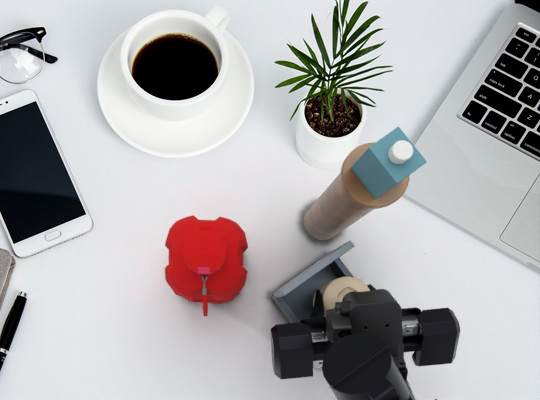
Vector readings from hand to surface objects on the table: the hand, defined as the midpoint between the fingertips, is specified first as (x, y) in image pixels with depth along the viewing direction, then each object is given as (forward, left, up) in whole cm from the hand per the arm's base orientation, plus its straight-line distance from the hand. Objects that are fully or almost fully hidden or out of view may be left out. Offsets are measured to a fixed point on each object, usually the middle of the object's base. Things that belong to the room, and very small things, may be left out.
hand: (343, 289), depth 70 cm
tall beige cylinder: (+8, -6, -13) cm, 16 cm away
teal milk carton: (+8, -6, +17) cm, 20 cm away
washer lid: (+3, +1, -2) cm, 4 cm away
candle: (-1, +1, -7) cm, 7 cm away
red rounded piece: (+11, +11, -13) cm, 20 cm away
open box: (-1, +1, -13) cm, 13 cm away
